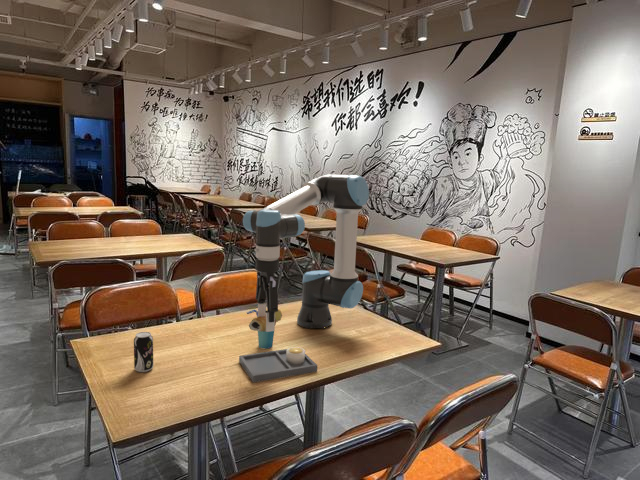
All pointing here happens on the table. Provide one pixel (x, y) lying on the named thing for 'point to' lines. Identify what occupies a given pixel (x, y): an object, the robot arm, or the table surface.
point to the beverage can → (143, 352)
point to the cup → (266, 337)
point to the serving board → (277, 364)
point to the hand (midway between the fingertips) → (265, 326)
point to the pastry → (258, 324)
